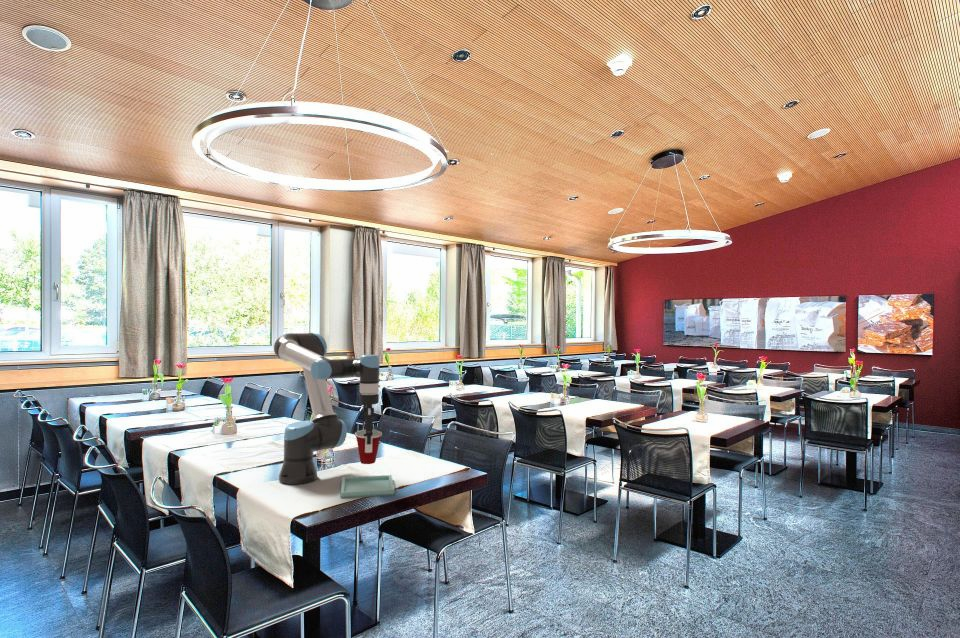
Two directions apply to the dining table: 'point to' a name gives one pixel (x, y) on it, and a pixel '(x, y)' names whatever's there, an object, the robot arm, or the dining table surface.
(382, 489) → the tray
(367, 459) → the plastic cup
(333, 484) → the dining table surface
